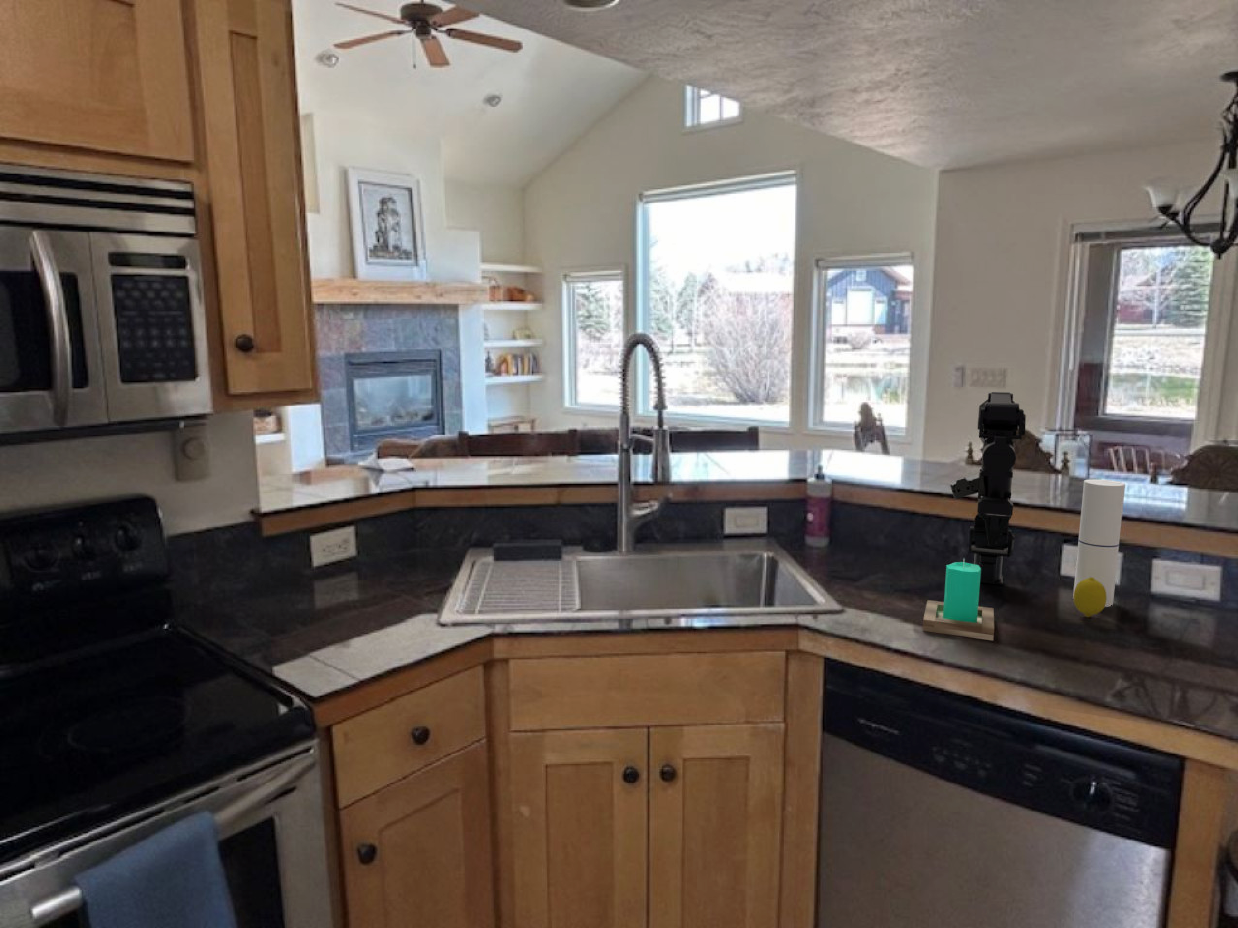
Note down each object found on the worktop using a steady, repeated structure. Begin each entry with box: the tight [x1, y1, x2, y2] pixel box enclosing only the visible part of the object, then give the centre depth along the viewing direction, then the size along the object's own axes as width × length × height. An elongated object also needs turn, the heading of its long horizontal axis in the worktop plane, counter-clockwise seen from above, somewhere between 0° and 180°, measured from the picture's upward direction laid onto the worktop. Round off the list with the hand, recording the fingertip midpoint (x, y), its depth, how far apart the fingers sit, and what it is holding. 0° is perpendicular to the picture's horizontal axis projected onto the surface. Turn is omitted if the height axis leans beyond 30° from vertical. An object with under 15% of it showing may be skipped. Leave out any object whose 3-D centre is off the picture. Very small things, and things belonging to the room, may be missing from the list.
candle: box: [943, 558, 981, 623], centre depth 153 cm, size 6×6×12 cm
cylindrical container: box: [1072, 478, 1126, 608], centre depth 165 cm, size 7×7×25 cm
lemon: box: [1073, 577, 1106, 618], centre depth 157 cm, size 6×6×8 cm
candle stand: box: [922, 599, 995, 642], centre depth 154 cm, size 12×12×2 cm
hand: (991, 540), depth 165 cm, fingers open, 9 cm apart
